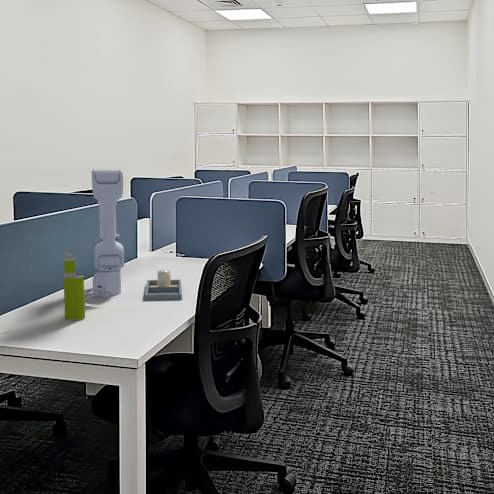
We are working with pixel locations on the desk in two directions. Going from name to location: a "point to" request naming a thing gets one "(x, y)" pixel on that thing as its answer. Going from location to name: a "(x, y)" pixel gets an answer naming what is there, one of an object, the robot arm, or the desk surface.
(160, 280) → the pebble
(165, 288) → the tray
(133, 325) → the desk surface
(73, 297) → the vape
